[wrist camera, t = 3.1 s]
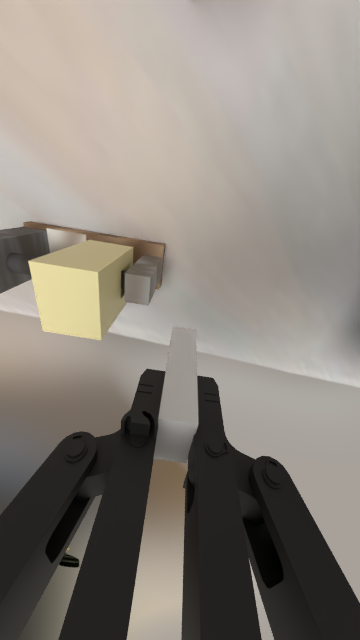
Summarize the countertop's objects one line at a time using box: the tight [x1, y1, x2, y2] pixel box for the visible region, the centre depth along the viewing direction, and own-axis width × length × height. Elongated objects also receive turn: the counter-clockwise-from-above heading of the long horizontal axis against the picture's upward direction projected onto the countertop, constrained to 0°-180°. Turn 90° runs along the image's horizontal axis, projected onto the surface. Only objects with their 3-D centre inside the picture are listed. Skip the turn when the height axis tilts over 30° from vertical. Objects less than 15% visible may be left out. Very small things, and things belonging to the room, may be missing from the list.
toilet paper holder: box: [0, 222, 165, 305], centre depth 24 cm, size 18×6×12 cm, turn 82°
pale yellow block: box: [28, 240, 134, 340], centre depth 21 cm, size 5×6×10 cm
